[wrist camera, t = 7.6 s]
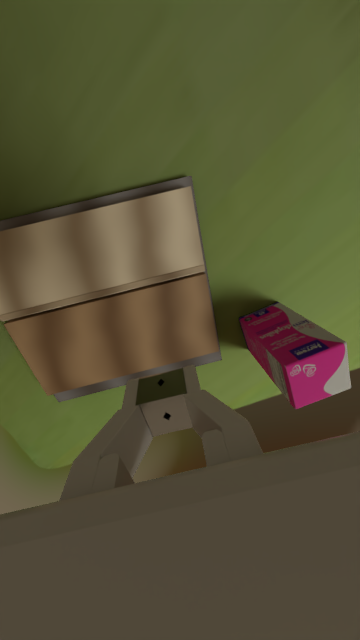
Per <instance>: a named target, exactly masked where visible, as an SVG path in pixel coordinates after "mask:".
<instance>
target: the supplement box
mask: <svg viewBox="0 0 360 640" xmlns="http://www.w3.org/2000/svg"><path fill="white" fill-rule="evenodd" d="M239 321H240V325H241V328H242V331H243V334H244V337H245V341H246V344H247V347H248V350H249V351H250V352H251V354H252V355H253V356H254V358H255V359H256V360H257V361H258V363H259V364H260V365H261V366H262V368H263V369H264V370H265V372H266V373H267V374H268V375H269V377H270V378H271V379H272V381H273V382H274V383H275V384H276V386H277V387H278V388H279V389H280V391H281V392H282V393H283V395H284V396H285V397H286V399H287V400H288V401H289V402H290V404H291V405H292V406H293V407H294V408H295V409H298V408H300V407H303V406H305V405H308V404H310V403H313V402H316V401H318V400H321V399H324V398H326V397H329V396H332V395H334V394H337V393H339V392H342V391H344V390H347V389H350V388H351V382H350V375H349V366H348V353H347V343H346V342H345V341H343V340H342V339H340V338H338V337H336V336H335V335H333V334H331V333H330V332H328V331H326V330H325V329H323V328H321V327H320V326H318V325H316V324H315V323H313V322H311V321H309V320H308V319H306V318H304V317H303V316H301V315H299V314H298V313H296V312H294V311H293V310H291V309H289V308H288V307H286V306H284V305H283V304H281V303H279V302H276V303H274V304H272V305H270V306H268V307H265V308H263V309H260V310H258V311H256V312H253V313H251V314H248V315H245V316H243V317H240V318H239Z"/></svg>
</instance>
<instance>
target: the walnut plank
mask: <svg viewBox="0 0 360 640" xmlns="http://www.w3.org/2000/svg"><path fill="white" fill-rule="evenodd" d="M4 326H5V328H6V329H7V331H8V332H9V334H10V336H11V337H12V339H13V341H14V342H15V344H16V345H17V347H18V349H19V350H20V352H21V354H22V355H23V357H24V358H25V360H26V362H27V363H28V365H29V366H30V368H31V370H32V371H33V373H34V375H35V376H36V378H37V379H38V381H39V383H40V384H41V386H42V388H43V389H44V391H45V392H46V394H47V396H48V395H52V394H56V393H60V392H64V391H67V390H71V389H75V388H79V387H83V386H87V385H91V384H94V383H98V382H102V381H106V380H110V379H114V378H118V377H121V376H125V375H129V374H133V373H137V372H141V371H145V370H149V369H152V368H156V367H160V366H164V365H168V364H172V363H176V362H179V361H183V360H187V359H191V358H195V357H199V356H203V355H206V354H210V353H214V352H218V351H219V348H218V342H217V336H216V330H215V324H214V318H213V312H212V307H211V301H210V295H209V289H208V283H207V277H206V274H205V273H204V272H199V273H195V274H191V275H187V276H183V277H179V278H175V279H171V280H167V281H163V282H159V283H155V284H151V285H147V286H143V287H139V288H135V289H131V290H127V291H123V292H119V293H115V294H111V295H107V296H103V297H99V298H95V299H91V300H87V301H83V302H79V303H75V304H71V305H67V306H63V307H59V308H55V309H51V310H47V311H43V312H39V313H35V314H31V315H27V316H23V317H19V318H15V319H11V320H10V321H8V322H6V323H5V324H4Z"/></svg>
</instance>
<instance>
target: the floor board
mask: <svg viewBox="0 0 360 640" xmlns="http://www.w3.org/2000/svg"><path fill="white" fill-rule="evenodd" d="M199 272H204V273H205V274H206V277H207V283H208V289H209V295H210V301H211V307H212V312H213V318H214V324H215V330H216V336H217V342H218V348H219V351H218V352H214V353H210V354H206V355H203V356H199V357H195V358H191V359H187V360H183V361H179V362H176V363H172V364H168V365H164V366H160V367H156V368H152V369H149V370H145V371H141V372H137V373H133V374H129V375H125V376H121V377H118V378H114V379H110V380H106V381H102V382H98V383H94V384H91V385H87V386H83V387H79V388H75V389H71V390H67V391H64V392H60V393H56V394H54V395H55V397H56V399H57V400H58V402H61V401H65V400H69V399H73V398H77V397H81V396H84V395H88V394H92V393H96V392H100V391H104V390H108V389H111V388H115V387H119V386H123V385H127V382H128V380H132V379H136V378H140V377H145V376H149V375H154V374H159V373H164V372H168V371H172V370H176V369H180V368H183V367H186V366H190V365H195V367H196V366H200V365H204V364H207V363H211V362H215V361H219V360H222V359H221V353H220V346H219V340H218V334H217V328H216V322H215V316H214V310H213V304H212V298H211V292H210V286H209V280H208V274H207V268H206V262H205V256H204V250H203V244H202V238H201V232H200V226H199V220H198V213H197V207H196V201H195V195H194V189H193V183H192V177H191V176H188V177H183V178H179V179H175V180H171V181H167V182H162V183H158V184H154V185H150V186H145V187H141V188H137V189H133V190H129V191H124V192H120V193H116V194H112V195H107V196H103V197H99V198H95V199H91V200H86V201H82V202H78V203H74V204H69V205H65V206H61V207H57V208H52V209H48V210H44V211H40V212H36V213H31V214H27V215H23V216H19V217H14V218H10V219H6V220H2V221H0V320H1V321H6V320H8V321H10V320H11V319H15V318H19V317H23V316H27V315H31V314H35V313H39V312H43V311H47V310H51V309H55V308H59V307H63V306H67V305H71V304H75V303H79V302H83V301H87V300H91V299H95V298H99V297H103V296H107V295H111V294H115V293H119V292H123V291H127V290H131V289H135V288H139V287H143V286H147V285H151V284H155V283H159V282H163V281H167V280H171V279H175V278H179V277H183V276H187V275H191V274H195V273H199Z"/></svg>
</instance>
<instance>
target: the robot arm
mask: <svg viewBox="0 0 360 640" xmlns="http://www.w3.org/2000/svg"><path fill="white" fill-rule="evenodd" d="M188 428H193V429H194V430H195V431H196V432H197V433H198V434H199V435H200V437H201V438H202V441H203V447H204V452H205V458H206V464H207V467H204V468H200V469H195V470H191V471H187V472H182V473H179V474H174V475H170V476H165V477H161V478H156V479H152V480H148V481H143V482H139V483H134V481H133V479H132V478H133V476H134V474H135V472H136V470H137V468H138V466H139V464H140V462H141V460H142V458H143V456H144V454H145V453H146V451H147V448H148V447H149V445H150V443H151V440H152V438H153V437H154V436H158V435H162V434H166V433H169V432H173V431H178V430H182V429H188ZM0 640H360V431H359V432H355V433H350V434H346V435H342V436H338V437H333V438H329V439H325V440H320V441H316V442H312V443H307V444H303V445H298V446H294V447H290V448H286V449H281V450H277V451H273V452H268V453H264V454H263V452H262V450H261V448H260V445H259V443H258V441H257V439H256V436H255V434H254V432H253V430H252V427H251V425H250V423H249V421H248V420H247V419H245V418H244V417H242V416H241V415H239V414H238V413H237V412H235V411H234V410H232V409H231V408H230V407H228V406H227V405H225V404H224V403H223V402H221V401H220V400H218V399H217V398H215V397H214V396H213V395H211V394H210V393H208V392H207V391H206V390H201V389H200V385H199V381H198V377H197V373H196V368H195V365H190V366H186V367H183V368H180V369H176V370H172V371H168V372H164V373H159V374H154V375H149V376H145V377H140V378H136V379H132V380H128V382H127V385H126V390H125V395H124V400H123V405H122V409H120V410H118V411H117V412H116V413H115V414H114V415H113V417H112V418H111V419H110V420H109V421H108V422H107V424H106V425H105V426H104V427H103V428H102V429H101V430H100V432H99V433H98V434H97V435H96V436H95V437H94V438H93V440H92V441H91V442H90V443H89V444H88V445H87V446H86V448H85V449H84V450H83V451H82V452H81V453H80V454H79V456H78V457H77V458H76V459H75V460H74V461H73V464H72V467H71V469H70V473H69V475H68V478H67V481H66V484H65V486H64V490H63V492H62V495H61V498H60V500H59V501H57V502H53V503H49V504H45V505H40V506H36V507H32V508H27V509H23V510H18V511H14V512H10V513H5V514H1V515H0Z"/></svg>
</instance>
